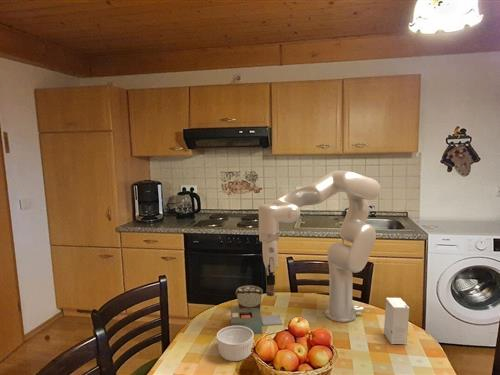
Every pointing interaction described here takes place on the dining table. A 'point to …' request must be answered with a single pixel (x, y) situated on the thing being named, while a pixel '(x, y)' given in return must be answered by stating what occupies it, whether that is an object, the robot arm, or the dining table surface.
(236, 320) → the switch box
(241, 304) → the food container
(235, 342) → the ramekin
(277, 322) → the rest mat
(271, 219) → the robot arm
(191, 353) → the dining table surface
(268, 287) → the brown upright bar
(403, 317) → the skincare box
